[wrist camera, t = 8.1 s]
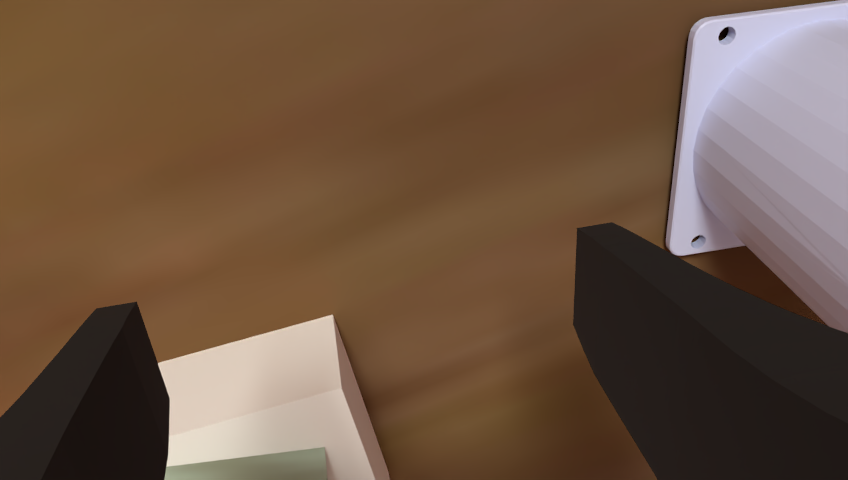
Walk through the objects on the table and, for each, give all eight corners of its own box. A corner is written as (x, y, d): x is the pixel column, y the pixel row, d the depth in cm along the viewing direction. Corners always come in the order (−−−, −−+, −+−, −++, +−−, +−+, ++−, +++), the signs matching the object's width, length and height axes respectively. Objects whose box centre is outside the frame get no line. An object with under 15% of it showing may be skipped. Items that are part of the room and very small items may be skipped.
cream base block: (332, 308, 25) (341, 388, 22) (387, 464, 30) (402, 552, 26) (99, 372, 25) (73, 463, 22) (189, 521, 29) (178, 616, 26)
